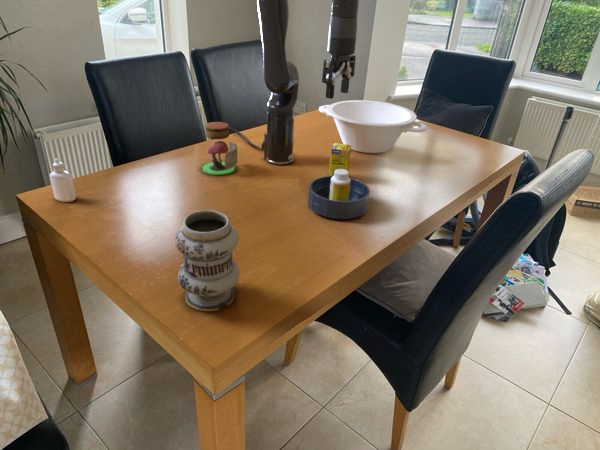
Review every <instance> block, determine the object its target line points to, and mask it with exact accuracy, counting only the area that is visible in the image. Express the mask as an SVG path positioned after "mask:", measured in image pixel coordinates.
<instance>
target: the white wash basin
mask: <svg viewBox="0 0 600 450" xmlns="http://www.w3.org/2000/svg"><path fill="white" fill-rule="evenodd" d="M318 111H319V112H320V113H321V114H325V115H326V117H332V118H333V120H334V123H335V125H336V129H337V131H338V133H339V136H340V139H341V141H342V144H347V145H352V146H351V151H354V152H357V153H363V154H382V153H386V152H388V151H390V150H392V148H393V146H395V143H396V142H397V140H398V139H399V138H400V136H401V135H402V134H403V133H405V134H406V133H408V132H409V133H423V132H426V131H427V130H428V126H427V124H425V123H423V122H420V121H417V118H418V117H417V114H416V113H415V112H414V111H413V110H410V109H409V108H407V107H404V106H401V105H398V104H394V103H390V102H384V101H377V100H364V99H352V100H341V101H336V102H334V103H331V104H325V105H321V106H319V107H318Z"/></svg>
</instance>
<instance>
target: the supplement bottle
mask: <svg viewBox="0 0 600 450" xmlns="http://www.w3.org/2000/svg"><path fill="white" fill-rule="evenodd" d="M349 173H350V172H349V171H347V170H345V169H337V170H335V172H334V176H333V177H332V178H331V184H330V195H329V199H330V200H335V201H348V200H349V191H350V182H351V180H350V178H351V177H350V176H349ZM349 177H350V178H349Z"/></svg>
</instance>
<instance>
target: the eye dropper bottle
mask: <svg viewBox="0 0 600 450" xmlns="http://www.w3.org/2000/svg"><path fill="white" fill-rule="evenodd" d="M52 168H53V171H52V172H50V173H49V180H50V185H51V188H52V192H53V197H54V199H55V200H56V201H59V202H64V203H70V202H71V203H72V202H74V200H76V199H77V195H76V190H75V185H74V181H73V176H72V175H71V173H69V171H66V170H65V167H64V164H63V162H61V161H60V160H59V158H55V159H54V162H53V163H52Z"/></svg>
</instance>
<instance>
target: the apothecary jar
mask: <svg viewBox="0 0 600 450" xmlns="http://www.w3.org/2000/svg"><path fill="white" fill-rule="evenodd" d="M230 222H231V221H230V219H229V217H228V216H227V214H225V213H223V212H220V211H217V210H214V209H205V210H198V211H194V212H191V213H189V214H187V216H186V217H184V219H183V221H182V226H181V227H180V228H179V229H178V231H177V232H176V234H175V238H174V243H175V246H176V249H177V250H178V251H179V252H180V253H181V254H182V259H183V263H182V264H180V267H179V268H178V272H177V280H178V283H179V285H180V286H181V288H182V289H183V290H184V291H185V292H186V293H185V297H184V298H185V299H184V300H185V303H187V305H188V306H189V307H191V308H192V309H194V310H197V311H200V312H216V311H219V310H220V309H222V308H224V307H228V306H229V305H230V304H231V303H232V302H233V301H234V298H235V291H234V289H233V287H235V285H237V283H238V281H239V279H240V274H241V273H240V268H239V265H238V263H237V262H236V261H235V260H234V258H233V257H234V256H233V252H234V250H235V249H236V247H237V246H238V243H239V233H238V231H237V229H236V228H235V227H234V226H233V224H231V223H230Z"/></svg>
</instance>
